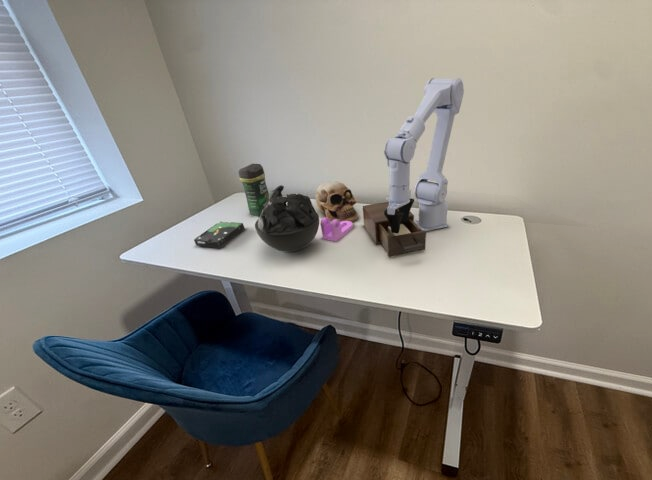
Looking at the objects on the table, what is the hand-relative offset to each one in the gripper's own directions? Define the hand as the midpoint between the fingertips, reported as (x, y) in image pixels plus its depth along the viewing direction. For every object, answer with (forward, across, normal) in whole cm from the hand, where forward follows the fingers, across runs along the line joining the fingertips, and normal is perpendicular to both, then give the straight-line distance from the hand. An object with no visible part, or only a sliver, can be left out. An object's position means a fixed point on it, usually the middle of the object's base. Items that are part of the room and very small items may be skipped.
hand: (399, 227), depth 100 cm
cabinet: (+7, -9, -8) cm, 14 cm away
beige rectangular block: (+5, 0, 0) cm, 5 cm away
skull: (+7, -16, -32) cm, 36 cm away
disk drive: (+7, +15, -63) cm, 65 cm away
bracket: (+7, -3, -24) cm, 25 cm away
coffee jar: (+7, -9, -64) cm, 65 cm away
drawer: (+6, +1, +1) cm, 6 cm away
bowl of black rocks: (+7, +12, -33) cm, 36 cm away
